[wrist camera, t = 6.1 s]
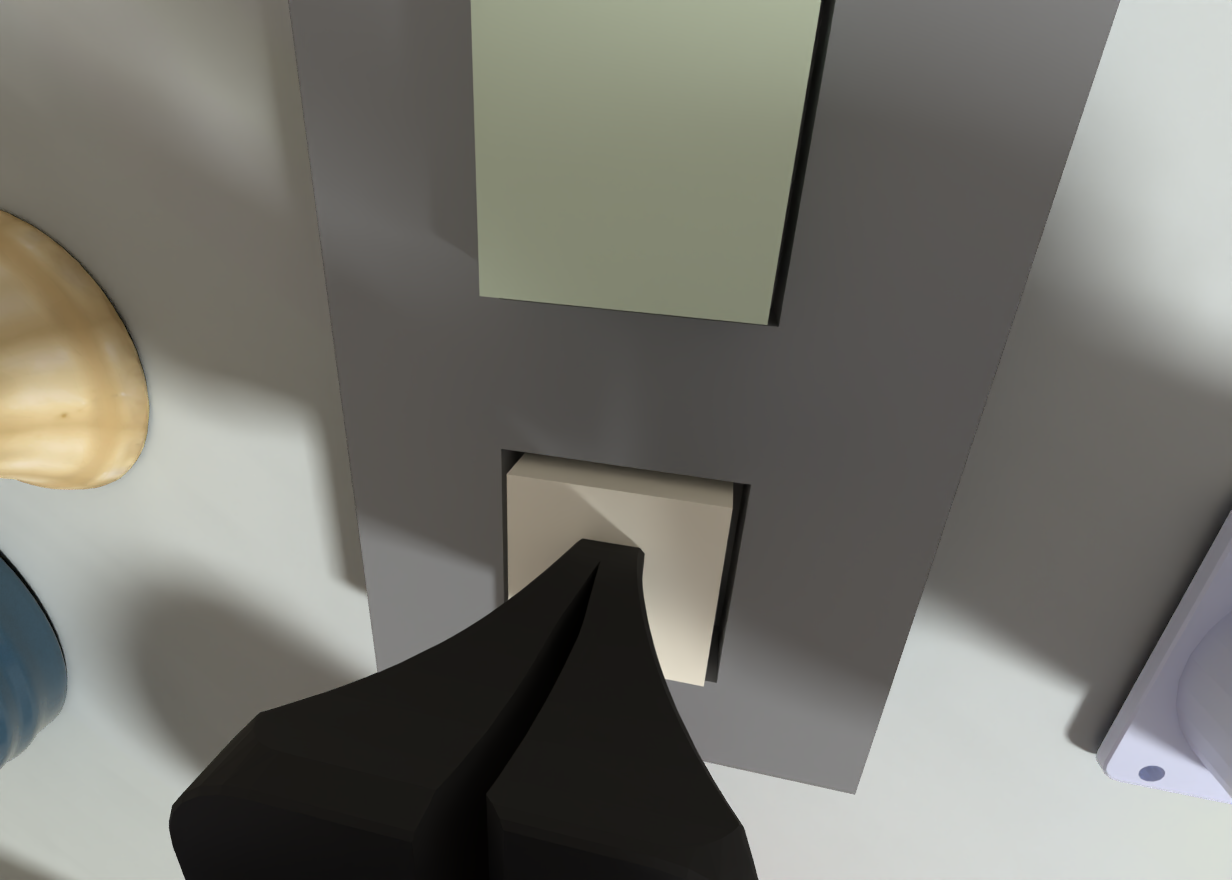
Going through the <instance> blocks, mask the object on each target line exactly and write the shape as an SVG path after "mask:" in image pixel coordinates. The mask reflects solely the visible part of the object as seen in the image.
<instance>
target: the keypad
mask: <svg viewBox="0 0 1232 880" xmlns="http://www.w3.org/2000/svg"><path fill="white" fill-rule="evenodd" d="M288 1H289V9H290V16H291V24H292V31H293V39H294V46H295V54H296V61H297V69H298V76H299V84H300V91H301V99H302V106H303V114H304V122H305V129H306V137H307V144H308V152H309V159H310V167H311V174H312V182H313V189H314V197H315V204H316V212H317V220H318V227H319V235H320V242H321V250H322V257H323V265H324V272H325V280H326V287H327V295H328V302H329V310H330V317H331V325H332V333H333V340H334V348H335V355H336V363H337V370H338V378H339V385H340V393H341V400H342V408H343V415H344V423H345V430H346V438H347V446H348V453H349V461H350V468H351V476H352V483H353V491H354V498H355V506H356V513H357V521H358V528H359V536H360V544H361V551H362V559H363V566H364V574H365V581H366V589H367V596H368V604H369V611H370V619H371V626H372V634H373V641H374V649H375V657H376V664H377V672H380V671H382V670H385V669H387V668H389V667H392V666H394V665H396V664H399V663H401V662H403V661H405V660H407V659H409V658H411V657H413V656H415V655H417V654H419V653H421V652H423V651H425V650H427V649H429V648H431V647H433V646H435V645H437V644H439V643H441V642H443V641H445V640H447V639H449V638H450V637H452V636H454V635H456V634H457V633H459V632H461V631H462V630H464V629H466V628H468V627H469V626H471V625H472V624H474V623H475V622H477V621H479V620H480V619H482V618H483V617H485V616H486V615H488V614H489V613H491V612H492V611H493V610H495V609H496V608H497V607H499V606H500V605H502V604H503V603H504V602H506V601H507V600H508V535H507V473H508V472H509V471H510V470H511V469H512V467H513V466H514V465H515V464H516V463H517V462H518V460H519V459H520V458H521V457H522V456H523V455H524V453H525V452H527V453H534V454H541V455H548V456H555V457H562V458H569V459H576V460H583V461H590V462H597V463H604V464H611V465H618V466H625V467H632V468H639V469H646V470H653V471H660V472H666V473H673V474H680V475H687V476H694V477H701V478H708V479H715V480H722V481H729V482H733V510H732V516H731V522H730V528H729V534H728V540H727V546H726V553H725V559H724V565H723V571H722V577H721V583H720V589H719V596H718V602H717V608H716V614H715V620H714V626H713V632H712V638H711V645H710V651H709V657H708V663H707V669H706V675H705V681H704V687H703V686H698V685H693V684H688V683H683V682H678V681H673V680H668V679H665V680H666V683H667V686H668V688H669V691H670V693H671V696H672V698H673V701H674V703H675V705H676V708H677V710H678V712H679V714H680V716H681V719H682V721H683V723H684V725H685V727H686V729H687V731H688V733H689V735H690V737H691V739H692V741H693V743H694V745H695V747H696V749H697V751H698V753H699V755H700V757H701V759H702V760H703V761H705V762H709V763H714V764H719V765H723V766H728V767H732V768H737V769H741V770H746V771H750V772H755V773H759V774H764V775H768V776H773V777H778V778H782V779H787V780H791V781H796V782H800V783H805V784H809V785H814V786H818V787H823V788H827V789H832V790H837V791H841V792H846V793H850V794H855V793H856V790H857V787H858V784H859V781H860V778H861V775H862V772H863V769H864V766H865V763H866V760H867V757H868V754H869V751H870V748H871V745H872V742H873V739H874V736H875V733H876V730H877V727H878V724H879V721H880V718H881V715H882V712H883V709H884V706H885V703H886V700H887V697H888V694H889V691H890V688H891V685H892V682H893V679H894V676H895V673H896V670H897V667H898V664H899V661H900V658H901V655H902V652H903V649H904V646H905V643H906V640H907V637H908V634H909V631H910V628H911V625H912V622H913V619H914V616H915V613H916V610H917V607H918V604H919V601H920V598H921V595H922V592H923V589H924V586H925V583H926V580H927V577H928V574H929V571H930V568H931V565H932V562H933V559H934V556H935V553H936V550H937V547H938V544H939V541H940V538H941V535H942V532H943V529H944V526H945V523H946V520H947V517H948V514H949V511H950V508H951V505H952V502H953V499H954V496H955V493H956V490H957V488H958V485H959V482H960V479H961V476H962V473H963V470H964V467H965V464H966V461H967V458H968V455H969V452H970V449H971V446H972V443H973V440H974V437H975V434H976V431H977V428H978V425H979V422H980V419H981V416H982V413H983V410H984V407H985V404H986V401H987V398H988V395H989V392H990V389H991V386H992V383H993V380H994V377H995V374H996V371H997V368H998V365H999V362H1000V359H1001V356H1002V353H1003V350H1004V347H1005V344H1006V341H1007V338H1008V335H1009V332H1010V329H1011V326H1012V323H1013V320H1014V317H1015V314H1016V311H1017V308H1018V305H1019V302H1020V299H1021V296H1022V293H1023V290H1024V287H1025V284H1026V281H1027V278H1028V275H1029V272H1030V269H1031V266H1032V263H1033V260H1034V257H1035V254H1036V251H1037V248H1038V245H1039V242H1040V239H1041V236H1042V233H1043V230H1044V227H1045V224H1046V221H1047V218H1048V215H1049V212H1050V209H1051V206H1052V203H1053V200H1054V197H1055V194H1056V191H1057V188H1058V185H1059V182H1060V179H1061V176H1062V173H1063V170H1064V167H1065V164H1066V161H1067V158H1068V155H1069V152H1070V149H1071V146H1072V143H1073V140H1074V137H1075V134H1076V131H1077V128H1078V125H1079V122H1080V119H1081V116H1082V113H1083V110H1084V107H1085V104H1086V101H1087V98H1088V95H1089V92H1090V89H1091V86H1092V83H1093V80H1094V77H1095V74H1096V71H1097V68H1098V65H1099V62H1100V59H1101V56H1102V53H1103V50H1104V47H1105V44H1106V41H1107V38H1108V35H1109V32H1110V29H1111V26H1112V23H1113V20H1114V17H1115V14H1116V11H1117V8H1118V5H1119V2H1120V0H821V5H820V11H819V17H818V23H817V29H816V35H815V41H814V47H813V53H812V59H811V65H810V71H809V77H808V83H807V89H806V95H805V101H804V107H803V113H802V119H801V125H800V131H799V137H798V143H797V149H796V155H795V161H794V167H793V173H792V179H791V185H790V191H789V197H788V203H787V209H786V215H785V221H784V227H783V233H782V239H781V245H780V251H779V257H778V263H777V269H776V275H775V282H774V288H773V294H772V300H771V306H770V312H769V318H768V324H767V325H762V324H752V323H742V322H732V321H722V320H713V319H703V318H693V317H683V316H673V315H663V314H653V313H643V312H633V311H623V310H613V309H603V308H593V307H583V306H573V305H563V304H553V303H543V302H533V301H523V300H514V299H504V298H494V297H484V296H480V292H479V259H478V226H477V193H476V160H475V128H474V95H473V62H472V29H471V0H288Z"/></svg>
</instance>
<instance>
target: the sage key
mask: <svg viewBox="0 0 1232 880" xmlns="http://www.w3.org/2000/svg"><path fill="white" fill-rule="evenodd" d="M820 5H821V0H471V29H472V62H473V95H474V128H475V160H476V193H477V226H478V259H479V292H480V296H484V297H494V298H504V299H514V300H523V301H533V302H543V303H553V304H563V305H573V306H583V307H593V308H603V309H613V310H623V311H633V312H643V313H653V314H663V315H673V316H683V317H693V318H703V319H713V320H722V321H732V322H742V323H752V324H762V325H767V324H768V318H769V312H770V306H771V300H772V294H773V288H774V282H775V275H776V269H777V263H778V257H779V251H780V245H781V239H782V233H783V227H784V221H785V215H786V209H787V203H788V197H789V191H790V185H791V179H792V173H793V167H794V161H795V155H796V149H797V143H798V137H799V131H800V125H801V119H802V113H803V107H804V101H805V95H806V89H807V83H808V77H809V71H810V65H811V59H812V53H813V47H814V41H815V35H816V29H817V23H818V17H819V11H820Z"/></svg>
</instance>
